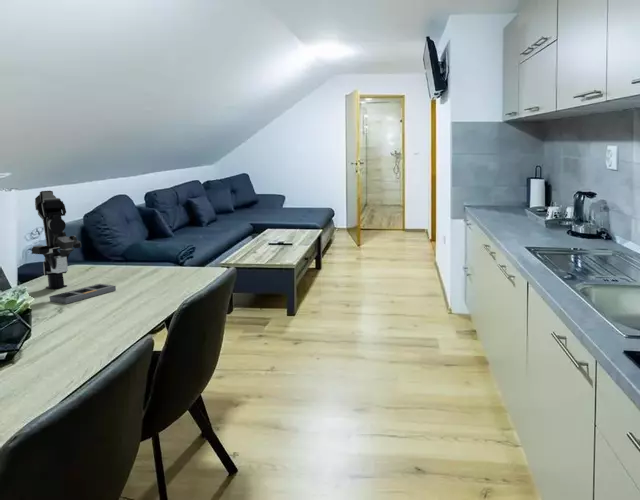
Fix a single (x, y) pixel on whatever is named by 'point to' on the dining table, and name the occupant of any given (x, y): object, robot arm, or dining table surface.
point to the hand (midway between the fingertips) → (59, 267)
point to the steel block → (60, 264)
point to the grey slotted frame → (82, 293)
